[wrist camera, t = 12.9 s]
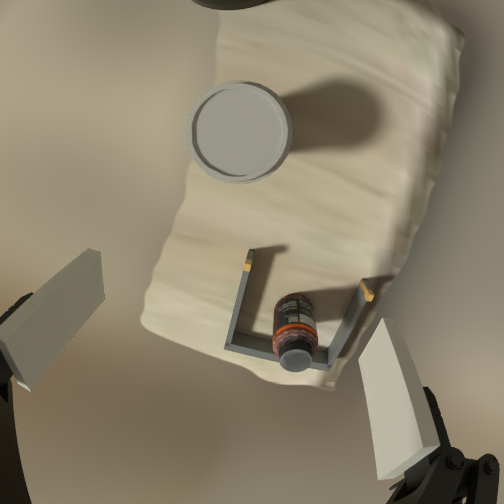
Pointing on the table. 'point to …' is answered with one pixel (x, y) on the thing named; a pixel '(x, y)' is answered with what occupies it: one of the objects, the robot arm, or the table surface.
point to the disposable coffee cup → (239, 132)
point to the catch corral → (265, 348)
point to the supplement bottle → (294, 333)
